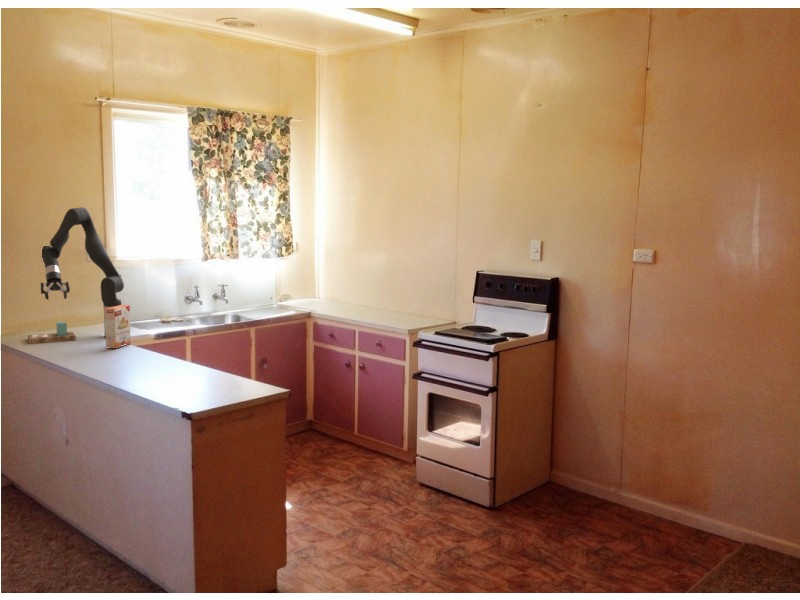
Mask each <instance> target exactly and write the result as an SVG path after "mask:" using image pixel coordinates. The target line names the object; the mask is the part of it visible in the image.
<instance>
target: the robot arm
mask: <svg viewBox="0 0 800 600" xmlns="http://www.w3.org/2000/svg"><path fill="white" fill-rule="evenodd" d="M79 225H81V227H82V228H83V229H82V230H83V231H84V233H85V238H84V239H85V241H84V249H85V251H86V253H87V256H89V258H90V260H91V261H92V262H93V264H95V265H96V267H98V268H99V269H100V270H101V271H102V272H103V274H104V275H105V277H104V278H103V279H101V281H100V295H101V297H100V298H101V301H102V303H103V326H104V328H103V329H104V337H105V336H106V318H105V309H106V308H110V307H115V306H119V305H122V300H121V299H119V298H117V293H120V292H122V291H123V290H124V288H125V287H124V285H125V284H124V283H125V282H124V280H123V278H122V277H121V275H120V273H119V272H118V270H117V269H116V267H115V265H114V264H113V261H112V260H111V258H110V256H109V255H108V252H107V249H106V247H105V246H104V244H103V242H102V240H101V238H100V236H99V233H98V232H97V229H96V227H95V225H94V222H93V219H92V216H91V214H90V212H89V211H88V209H87V208H85V207H74V208H73V207H72V208H69V209H67V211H66V212H65V214H64V217H63V218H62V221H61V224H60V225H59V228H58V230H57V231H56V232H55V234H54V235H53V237H51V239H50V241H49V245H48V246H44V247H43V249H42V258H43V260H42V262H43V264H44V268H45V269H44V270H45V271H44V273H45V278H46V279H45V280H46V283H44V282H40V294H42V295H43V294H44V298H45V300H46V301H49V293H50V292H51V291H52V292H53V291H57V292H58V291H59V292H61V293H63V299H64V300H66V299H67V297H68V294H69V293H70V292H71V289H70V285H69V281H65V282H63V281H62V274H61V270H60V266H59V260H58V259H59V258H60V257H61V253H62V250H63V247H64V246H65V244H66V243H67V242H68V240H69V238H70V230H71V229H72V228H73V227H74V226H79ZM51 246H52V247H51ZM42 258H41V259H42ZM44 288H46V289H45V290H44Z"/></svg>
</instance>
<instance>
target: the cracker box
mask: <svg viewBox="0 0 800 600" xmlns="http://www.w3.org/2000/svg"><path fill="white" fill-rule="evenodd" d="M105 318H106V337H105V345H106V346H105V348H106V347H109V348H117V347H119V346H121V345H124V344H127V345H126V346H128V345H131V340H132V339H131V306H130V305H129V304H126V305H125V304H121V305H119V306H115V307H110V308H106V309H105ZM117 349H118V348H117Z"/></svg>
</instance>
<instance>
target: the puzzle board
mask: <svg viewBox="0 0 800 600" xmlns="http://www.w3.org/2000/svg"><path fill="white" fill-rule="evenodd" d="M27 341H28V343H29V345H34V344H45V343H47V344H49V343H58V342H59V343H61V342H69V341H72V342H73V341H77V335H76V334H75V333H74V331H67V335H66V336H57V332H53V333H52V332H51V333H50V332H49V333H39V334H28V335H27Z"/></svg>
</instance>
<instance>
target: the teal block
mask: <svg viewBox="0 0 800 600" xmlns="http://www.w3.org/2000/svg"><path fill="white" fill-rule="evenodd" d="M55 324H56V333H57V336H66V335H67V332H68V327H67V322H66V321H56V322H55Z"/></svg>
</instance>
